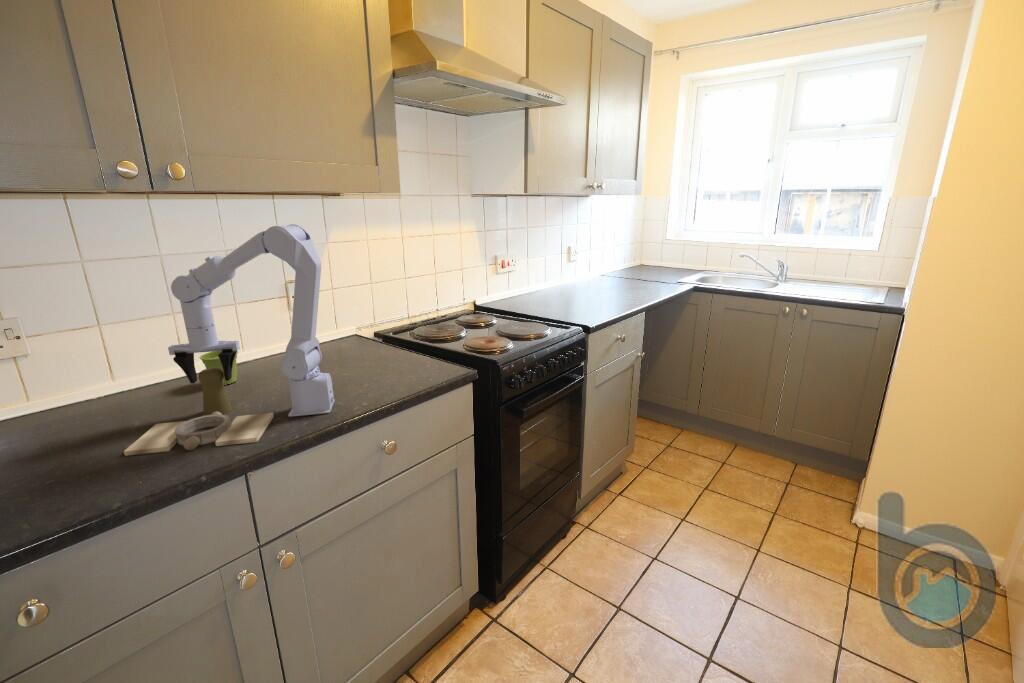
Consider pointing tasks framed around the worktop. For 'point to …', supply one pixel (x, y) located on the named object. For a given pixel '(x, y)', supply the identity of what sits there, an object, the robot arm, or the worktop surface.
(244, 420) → the hinge base
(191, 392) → the worktop surface
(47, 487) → the worktop surface
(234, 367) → the plant pot
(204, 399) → the cork
